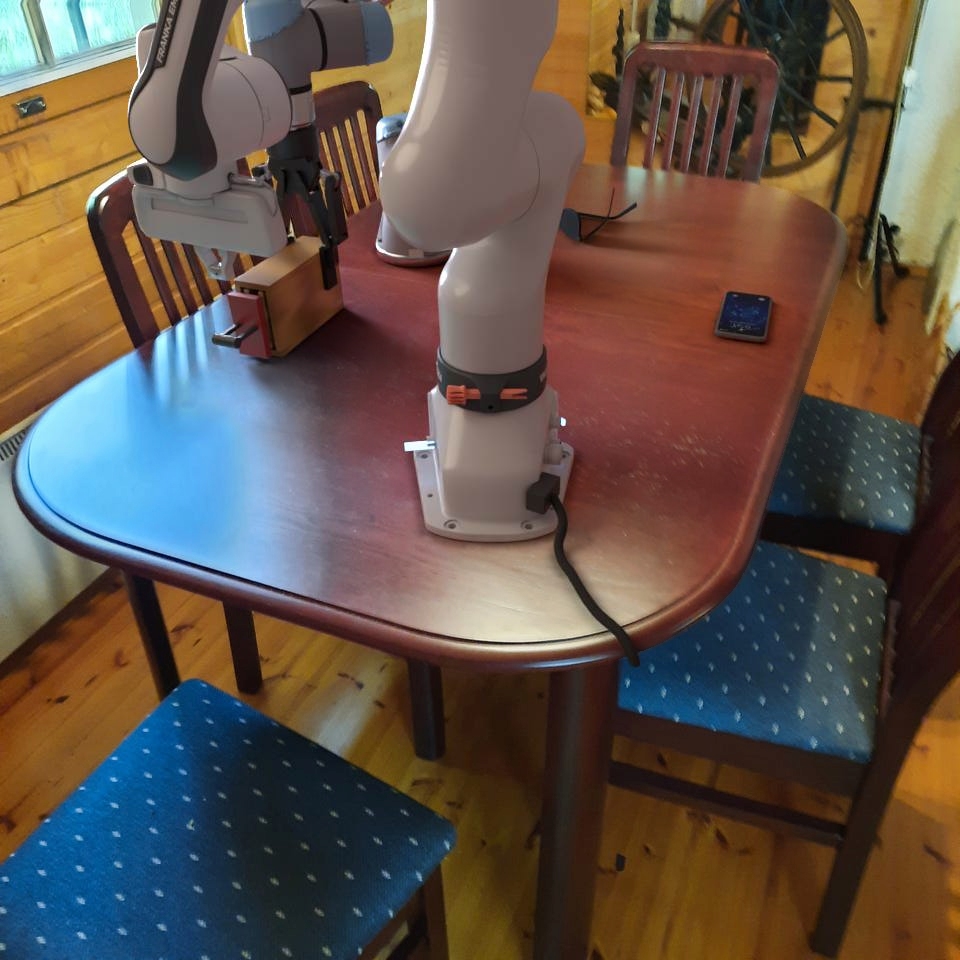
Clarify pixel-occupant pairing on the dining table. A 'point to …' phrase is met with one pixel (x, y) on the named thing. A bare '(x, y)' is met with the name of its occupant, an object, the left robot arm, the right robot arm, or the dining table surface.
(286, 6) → the left robot arm
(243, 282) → the cabinet
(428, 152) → the right robot arm
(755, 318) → the smartphone
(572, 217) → the sunglasses
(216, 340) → the drawer
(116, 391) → the dining table surface
